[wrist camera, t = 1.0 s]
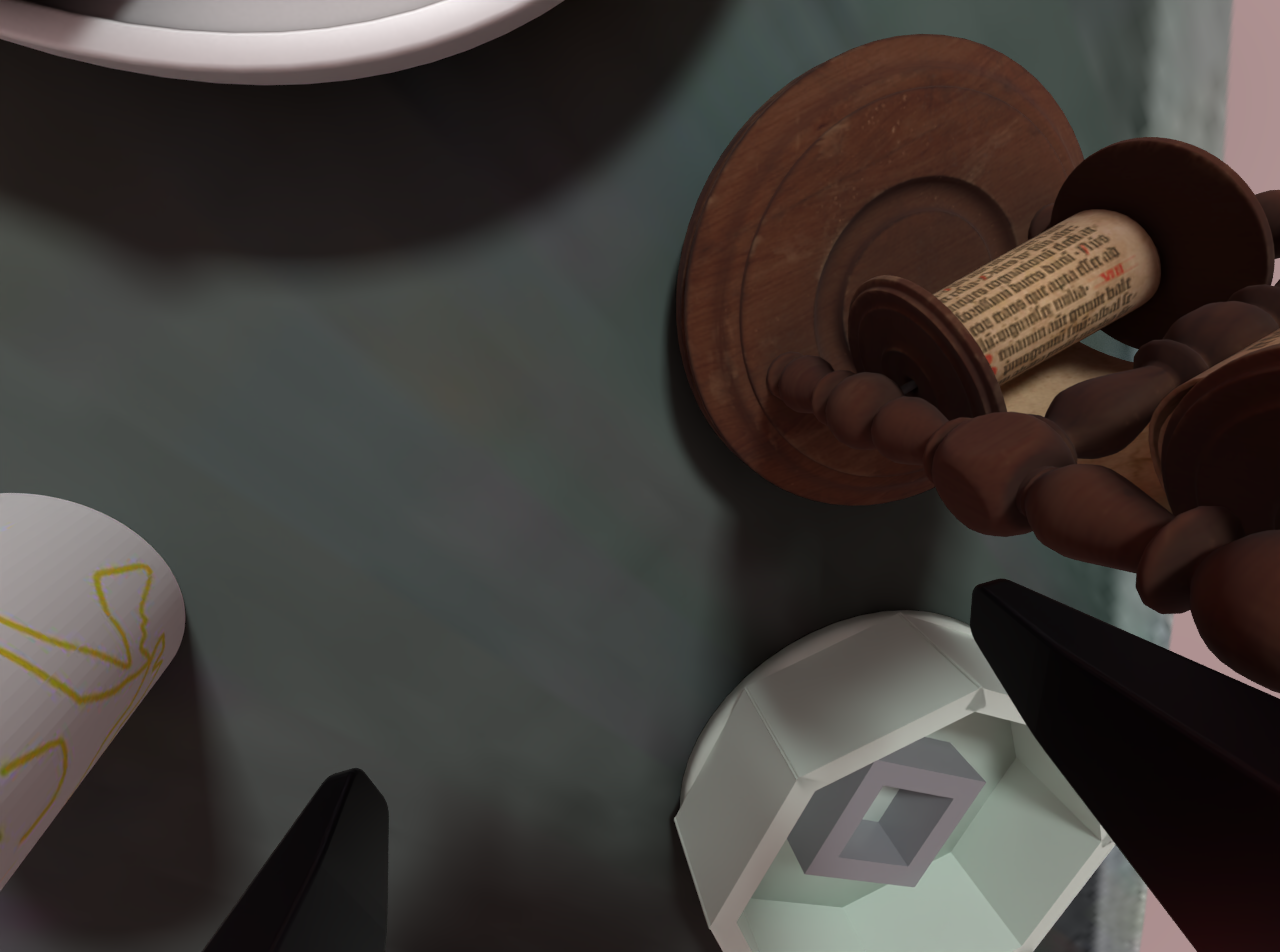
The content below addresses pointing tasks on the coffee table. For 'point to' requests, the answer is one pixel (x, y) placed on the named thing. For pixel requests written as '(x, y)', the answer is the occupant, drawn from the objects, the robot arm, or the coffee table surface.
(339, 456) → the coffee table surface
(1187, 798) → the robot arm
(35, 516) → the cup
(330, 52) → the bowl
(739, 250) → the scroll
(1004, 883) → the octagonal white bin
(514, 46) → the coffee table surface
